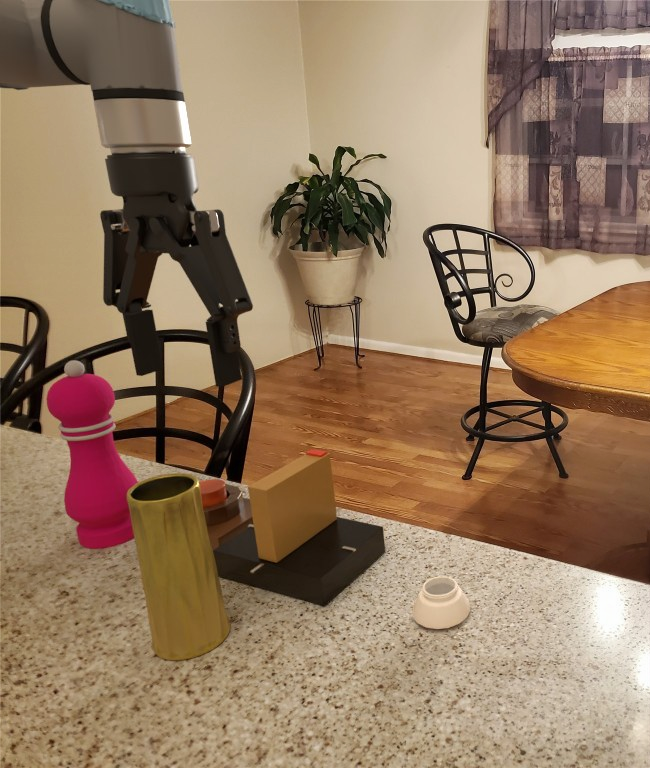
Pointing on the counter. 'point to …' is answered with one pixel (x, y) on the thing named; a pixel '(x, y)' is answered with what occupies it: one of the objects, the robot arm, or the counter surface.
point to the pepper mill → (92, 458)
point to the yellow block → (292, 505)
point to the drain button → (212, 492)
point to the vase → (177, 567)
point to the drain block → (228, 517)
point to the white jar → (440, 604)
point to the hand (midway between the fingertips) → (188, 377)
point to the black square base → (305, 561)
